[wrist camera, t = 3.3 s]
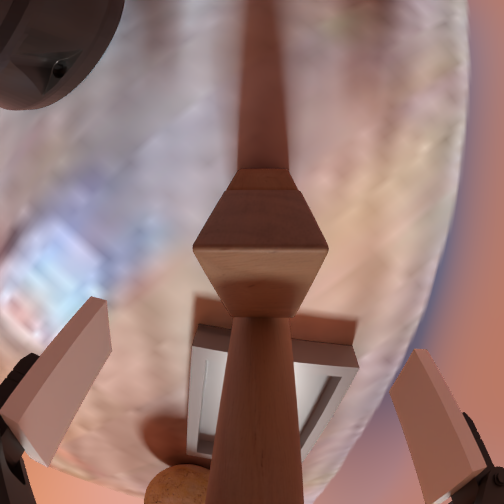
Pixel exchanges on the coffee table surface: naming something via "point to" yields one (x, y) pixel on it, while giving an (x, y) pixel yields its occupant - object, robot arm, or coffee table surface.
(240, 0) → the coffee table surface
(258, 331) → the brown wooden piece
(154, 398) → the coffee table surface
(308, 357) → the tray
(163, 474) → the fossilized egg
